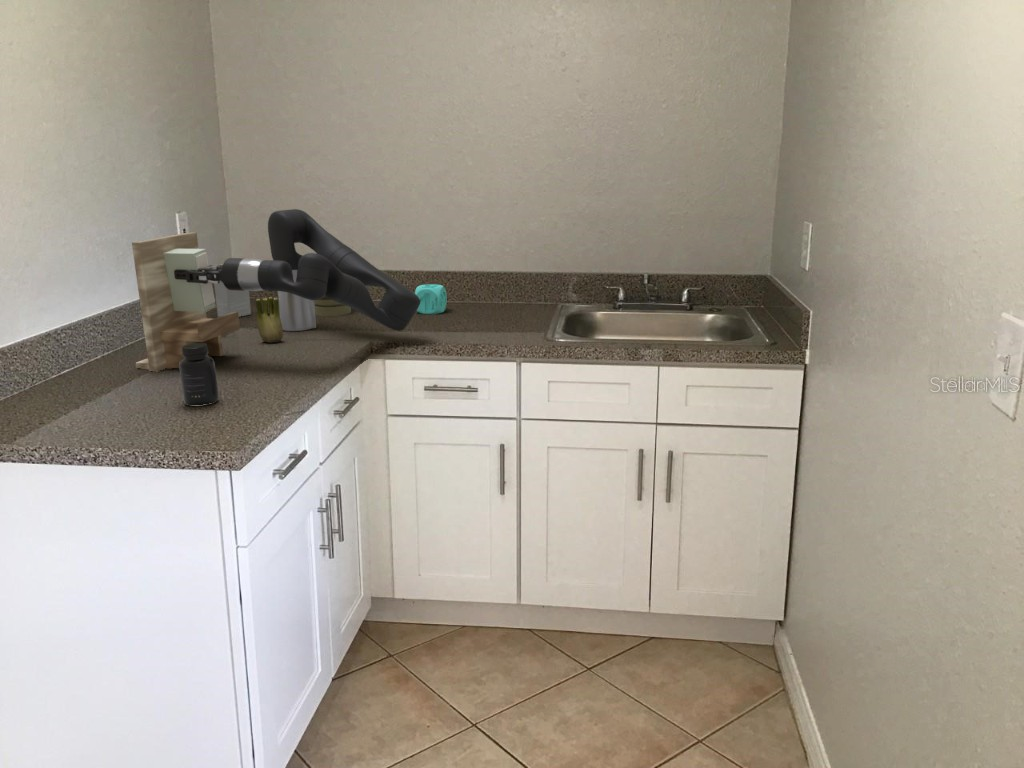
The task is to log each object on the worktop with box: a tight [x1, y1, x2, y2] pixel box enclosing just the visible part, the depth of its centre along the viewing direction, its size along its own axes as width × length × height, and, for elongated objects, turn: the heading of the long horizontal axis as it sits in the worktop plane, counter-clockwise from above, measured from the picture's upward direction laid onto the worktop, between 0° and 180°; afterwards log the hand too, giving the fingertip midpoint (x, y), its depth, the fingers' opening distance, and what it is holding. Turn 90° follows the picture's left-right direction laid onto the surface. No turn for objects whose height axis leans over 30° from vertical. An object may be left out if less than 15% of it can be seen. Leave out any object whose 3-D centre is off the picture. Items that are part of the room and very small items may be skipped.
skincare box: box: [213, 281, 252, 318], centre depth 259 cm, size 8×7×16 cm
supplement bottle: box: [178, 343, 220, 405], centre depth 172 cm, size 7×7×12 cm
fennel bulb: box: [255, 296, 284, 344], centre depth 225 cm, size 6×5×12 cm
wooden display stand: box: [131, 231, 241, 373], centre depth 203 cm, size 18×22×30 cm
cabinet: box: [163, 248, 217, 312], centre depth 201 cm, size 8×5×14 cm, turn 77°
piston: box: [314, 296, 352, 317], centre depth 263 cm, size 11×12×11 cm
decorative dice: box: [414, 283, 448, 315], centre depth 262 cm, size 8×8×8 cm
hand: (183, 272), depth 201 cm, fingers closed on cabinet, 5 cm apart
